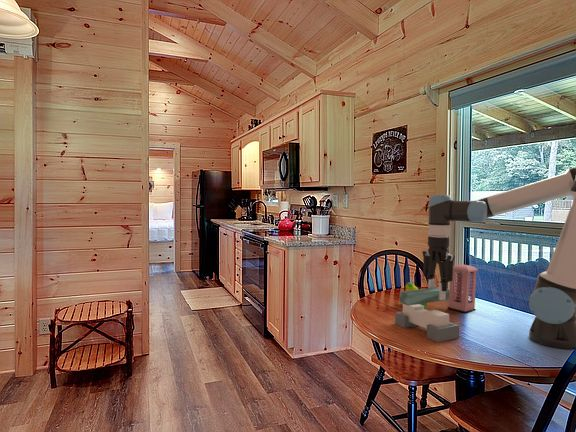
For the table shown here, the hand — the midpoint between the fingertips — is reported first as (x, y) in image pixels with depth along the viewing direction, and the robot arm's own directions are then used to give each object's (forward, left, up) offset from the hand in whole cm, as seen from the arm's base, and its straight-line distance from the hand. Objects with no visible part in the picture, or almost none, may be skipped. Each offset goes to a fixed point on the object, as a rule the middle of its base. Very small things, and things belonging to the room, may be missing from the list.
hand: (436, 297), depth 148 cm
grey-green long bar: (0, +6, -1) cm, 6 cm away
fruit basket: (+26, -15, -12) cm, 32 cm away
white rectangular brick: (0, +6, -10) cm, 11 cm away
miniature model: (+14, -31, -12) cm, 36 cm away
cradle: (0, +5, -12) cm, 13 cm away
